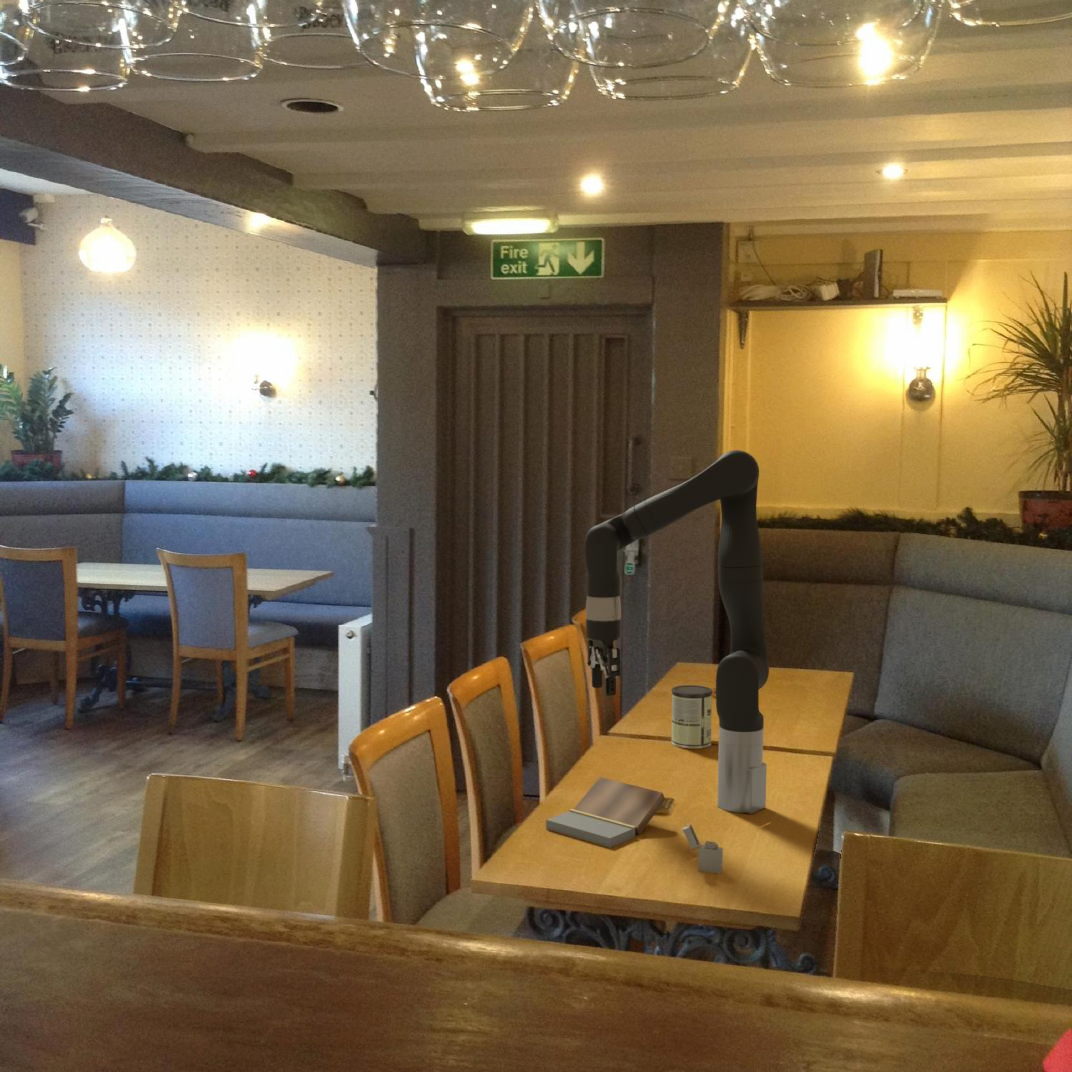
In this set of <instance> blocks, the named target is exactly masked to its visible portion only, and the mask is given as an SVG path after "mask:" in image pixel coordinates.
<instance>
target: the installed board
mask: <svg viewBox="0 0 1072 1072" xmlns="http://www.w3.org/2000/svg"><path fill="white" fill-rule="evenodd" d="M545 829H546V830H548V831H549V830H550V831H552V832H556V833H558V834H563V835H566V836H569V837H572V838H576V839H579V840H583V841H586V842H588V843H589V842H590V843H593V844H596V845H600V846H603V847H607V848H611V849H612V848H613V847H616V846H618V845H620V844H623V843H624V842H626V841H629V840H631V839H634V838H635V837H636V834H635V826H632V825H629V824H625V823H621V822H618V821H614V820H610V819H607V818H603V817H600V816H596V815H592V814H589V813H585V812H581V811H578V810H574V808H569V810H568V811H566V812H563V813H561V814H558V815H555V816H553V817H550V818H548V819H546V820H545Z"/></svg>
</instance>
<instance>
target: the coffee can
mask: <svg viewBox="0 0 1072 1072" xmlns="http://www.w3.org/2000/svg"><path fill="white" fill-rule="evenodd" d="M713 691H714V690H713V689H712V688H711V687H707V686H703V685H693V684H689V685H688V684H685V685H677V686H674V687H672V688H671V741H670V742H671V743H670V744H671V745H673V746H674V747H678V748H682V749H691V750H694V749H696V750H697V749H706V748H709V747H711V746H712V717H713V716H712V715H713V714H712V712H713V711H712V707H713V701H712V700H713Z"/></svg>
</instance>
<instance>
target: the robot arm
mask: <svg viewBox="0 0 1072 1072" xmlns="http://www.w3.org/2000/svg"><path fill="white" fill-rule="evenodd" d="M759 478H760V468H759V464H758V462H757V460H756V458H755V457H754V456H753V455H752V454H750V453H748V452H747V451H744V450H739V449H737V450H736V449H735V450H729V451H727V452H725V453H723V454H721V456H719V457H718V458H717V460H716V461H714V462H713V463H712V464H710V465H709V466H707V468H705V469H704V470H702V471H701V472H699V473H698V474H697V475H695V476H693V477H691V478H690V479H688V480H686V481H684V482H682V483H680V484H678V485H676V486H674V487H671V488H669V489H667V490H665V491H662V492H660V493H657V494H655V495H654V496H651V497H649V498H647V499H645V500H643V501H642V502H640V503H638V504H635V505H633V506H632V507H629V508H628V509H627V510H626V511H625V512H623V513H621V514H618V515H616V516H614V517H612V518H610V519H608V520H606V521H603V522H602V523H599V524H597V525H594V526H593V527H591V528H590V529H589V530H588V531H587V532H586V535H585V537H584V538H585V539H584V555H585V565H586V571H587V577H586V595H587V596H586V603H585V637H586V639H588V640H587V666H588V667H589V669H590V671H591V688H593V689H599V688H602V687H603V673H604V677H605V678H604V694H605V695H606V696H608V697H610V696H611V697H612V696H616V694H617V678H618V677H621V649H620V647H615V645H614V642H615V641H617V640H620V639H621V637H622V605H621V595H620V594H621V591H620V590H621V588H620V586H621V584H620V583H621V582H620V581H621V580H620V573H619V571H618V552H619V551H620V550H622V549H624V548H625V547H627V546H629V545H631V544H632V543H634V542H636V541H638V540H642V539H645V538H647V537H649V536H651V535H653V534H655V533H657V532H659V531H661V530H663V529H665V528H666V527H668V526H670V525H673V524H674V523H675V522H677V521H679V520H681V519H682V518H684V517H685V516H687V515H689V514H691V513H692V512H695V511H697V510H698V509H700V508H702V507H704V506H707V505H709V504H711V503H714V502H716V501H720V503H719V504H720V514H721V523H720V532H719V542H718V550H717V551H718V552H717V570H718V571H717V572H718V574H717V576H718V589H719V593H720V594H719V595H720V598H721V600H722V603H723V607H724V609H725V612H726V615H727V619H728V622H729V627H730V652H729V654H728V655H726V656H725V657H723V658H722V659H721V660H720V662H719V663H718V666H717V669H716V674H715V706H716V708H715V709H716V714H717V716H718V753H717V755H718V757H717V758H718V761H717V766H718V767H717V796H716V797H717V806H718V808H719V809H722V810H724V811H727V812H731V813H739V814H740V813H741V814H750V815H751V814H754V813H756V812H759V811H761V810H762V809H765V808H766V803H767V802H766V800H767V797H766V796H767V763H765V762H763V759H764V758H763V756H764V726H765V725H764V721H765V720H764V715H763V713H762V712H760V708H759V707H760V705H759V692H760V690H761V689H762V688H763V687H764V686H765V685H766V684H767V681H768V679H769V675H770V665H769V656H768V651H767V643H766V637H765V627H764V614H765V613H764V571H763V569H764V568H763V567H764V566H763V565H764V564H763V554H762V546H761V538H760V532H759V525H758V520H757V504H758V502H757V501H758V487H759V484H758V483H759Z"/></svg>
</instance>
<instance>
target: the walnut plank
mask: <svg viewBox="0 0 1072 1072" xmlns="http://www.w3.org/2000/svg"><path fill="white" fill-rule="evenodd" d="M665 801H666V798H665V796H664V793H663V792H662V791H658V790H654V789H649V788H645V787H641V786H637V785H635V784H630V783H626V782H621V781H617V780H613V779H609V778H605V777H602V776H600V777H598V778H597V779H596V781H595V782H594V783H593V785H592V786H591V787H590V788H589V789H588V791H587V792H586V794H585V795H584V796H583V797H582V798H581V799H580V800H579V802H578V803H577V804H576V806H575V807H574V808H573V809H574V810H578V811H581V812H585V813H589V814H592V815H596V816H600V817H603V818H607V819H610V820H614V821H618V822H621V823H625V824H629V825H632V826H635V835H639V836H640V835H641V834H642V832H643V831H644V830H645V828H646V827H647V825H649V823H650V821H651V820H652V819H653V817H654V816H655V814H656V813H657V812H658V811H659V809H660V808H661V806H662V805H663V804H664V802H665Z"/></svg>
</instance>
